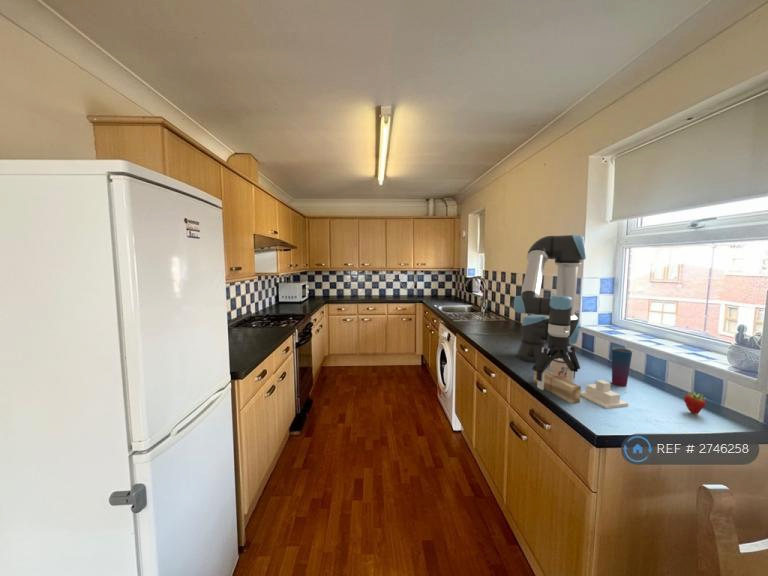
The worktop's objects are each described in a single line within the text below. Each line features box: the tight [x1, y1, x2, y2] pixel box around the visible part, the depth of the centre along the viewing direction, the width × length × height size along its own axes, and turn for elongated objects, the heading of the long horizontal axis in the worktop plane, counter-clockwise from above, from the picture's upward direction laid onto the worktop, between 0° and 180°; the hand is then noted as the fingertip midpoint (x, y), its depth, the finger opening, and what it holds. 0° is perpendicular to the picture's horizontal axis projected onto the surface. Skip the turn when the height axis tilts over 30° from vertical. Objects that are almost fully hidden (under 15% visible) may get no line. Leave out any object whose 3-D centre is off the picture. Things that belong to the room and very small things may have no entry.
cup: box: [611, 347, 633, 388], centre depth 132 cm, size 7×7×15 cm
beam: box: [532, 369, 582, 404], centre depth 124 cm, size 4×20×6 cm, turn 13°
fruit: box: [683, 390, 707, 415], centre depth 107 cm, size 5×5×8 cm
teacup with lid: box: [549, 358, 571, 379], centre depth 139 cm, size 12×9×12 cm
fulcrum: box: [580, 379, 629, 409], centre depth 117 cm, size 12×10×7 cm
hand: (555, 387), depth 124 cm, fingers open, 13 cm apart
